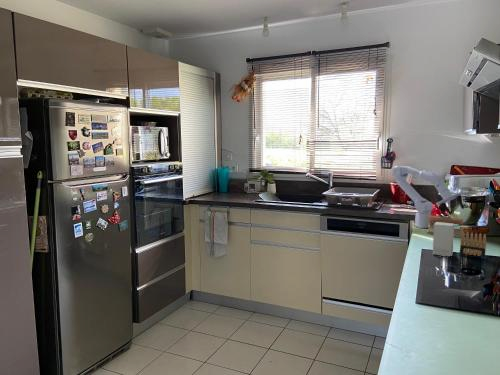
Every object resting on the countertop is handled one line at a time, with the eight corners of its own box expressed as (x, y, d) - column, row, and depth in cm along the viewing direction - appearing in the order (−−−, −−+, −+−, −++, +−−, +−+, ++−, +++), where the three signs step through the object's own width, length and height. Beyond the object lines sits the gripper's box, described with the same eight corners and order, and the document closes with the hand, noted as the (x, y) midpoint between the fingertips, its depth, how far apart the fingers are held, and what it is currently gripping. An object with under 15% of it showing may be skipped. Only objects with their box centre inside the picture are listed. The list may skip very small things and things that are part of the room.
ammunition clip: (485, 258, 186) (487, 233, 185) (484, 259, 185) (487, 234, 183) (459, 254, 192) (461, 230, 190) (459, 255, 190) (461, 231, 189)
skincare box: (452, 255, 191) (455, 223, 188) (450, 258, 185) (453, 226, 183) (433, 252, 195) (436, 221, 193) (431, 255, 190) (433, 223, 188)
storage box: (428, 229, 244) (428, 222, 243) (461, 232, 236) (461, 225, 236) (427, 233, 233) (428, 226, 233) (462, 236, 226) (462, 230, 225)
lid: (428, 222, 244) (428, 220, 244) (461, 225, 236) (461, 224, 236) (428, 216, 232) (429, 215, 233) (463, 219, 225) (463, 218, 225)
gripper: (433, 194, 235) (445, 214, 229) (457, 184, 232) (470, 204, 227) (432, 198, 241) (444, 217, 235) (455, 187, 239) (468, 207, 233)
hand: (457, 211), depth 231 cm, fingers open, 7 cm apart
